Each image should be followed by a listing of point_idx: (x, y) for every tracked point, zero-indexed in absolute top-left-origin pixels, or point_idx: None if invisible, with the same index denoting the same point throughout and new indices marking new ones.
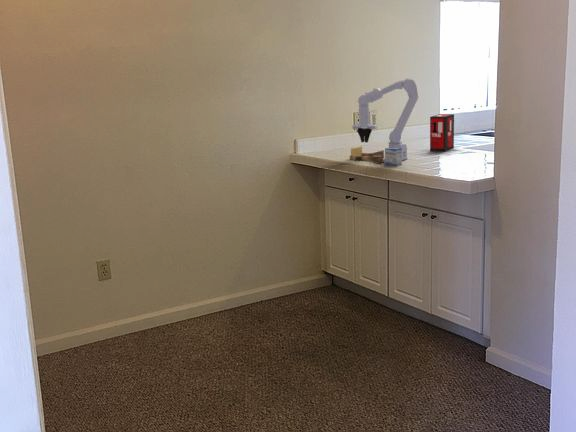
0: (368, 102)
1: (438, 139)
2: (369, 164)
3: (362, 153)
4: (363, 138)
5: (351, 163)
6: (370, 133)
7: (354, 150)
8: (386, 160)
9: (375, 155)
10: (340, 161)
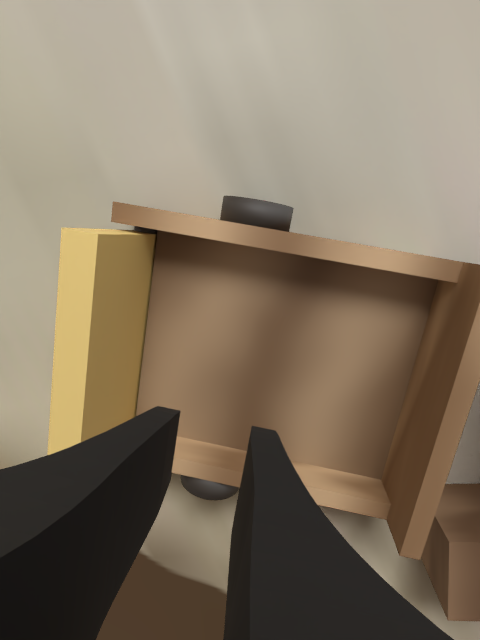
0: None
1: None
2: (392, 582)
3: (144, 227)
4: (148, 481)
5: (198, 547)
6: (376, 575)
7: (96, 431)
8: None
9: (453, 543)
10: (40, 455)
